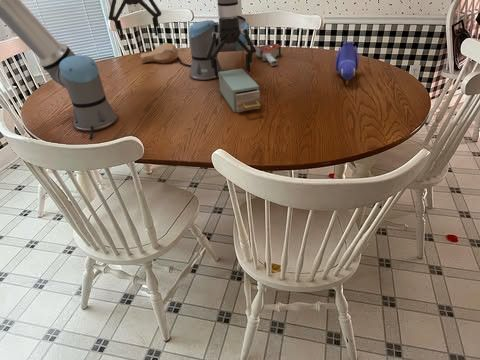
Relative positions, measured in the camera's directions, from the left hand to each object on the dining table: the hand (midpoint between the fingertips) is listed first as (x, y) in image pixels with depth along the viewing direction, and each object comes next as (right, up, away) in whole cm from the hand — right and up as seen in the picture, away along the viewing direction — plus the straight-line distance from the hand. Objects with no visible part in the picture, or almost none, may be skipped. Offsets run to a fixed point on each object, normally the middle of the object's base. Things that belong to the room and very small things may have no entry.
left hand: (139, 36), depth 144 cm
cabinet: (+40, -26, 0) cm, 48 cm away
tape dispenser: (+55, +4, +38) cm, 67 cm away
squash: (-1, +5, +44) cm, 45 cm away
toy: (+87, -14, +11) cm, 89 cm away
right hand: (+38, -15, 0) cm, 40 cm away
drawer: (+42, -28, -5) cm, 51 cm away
